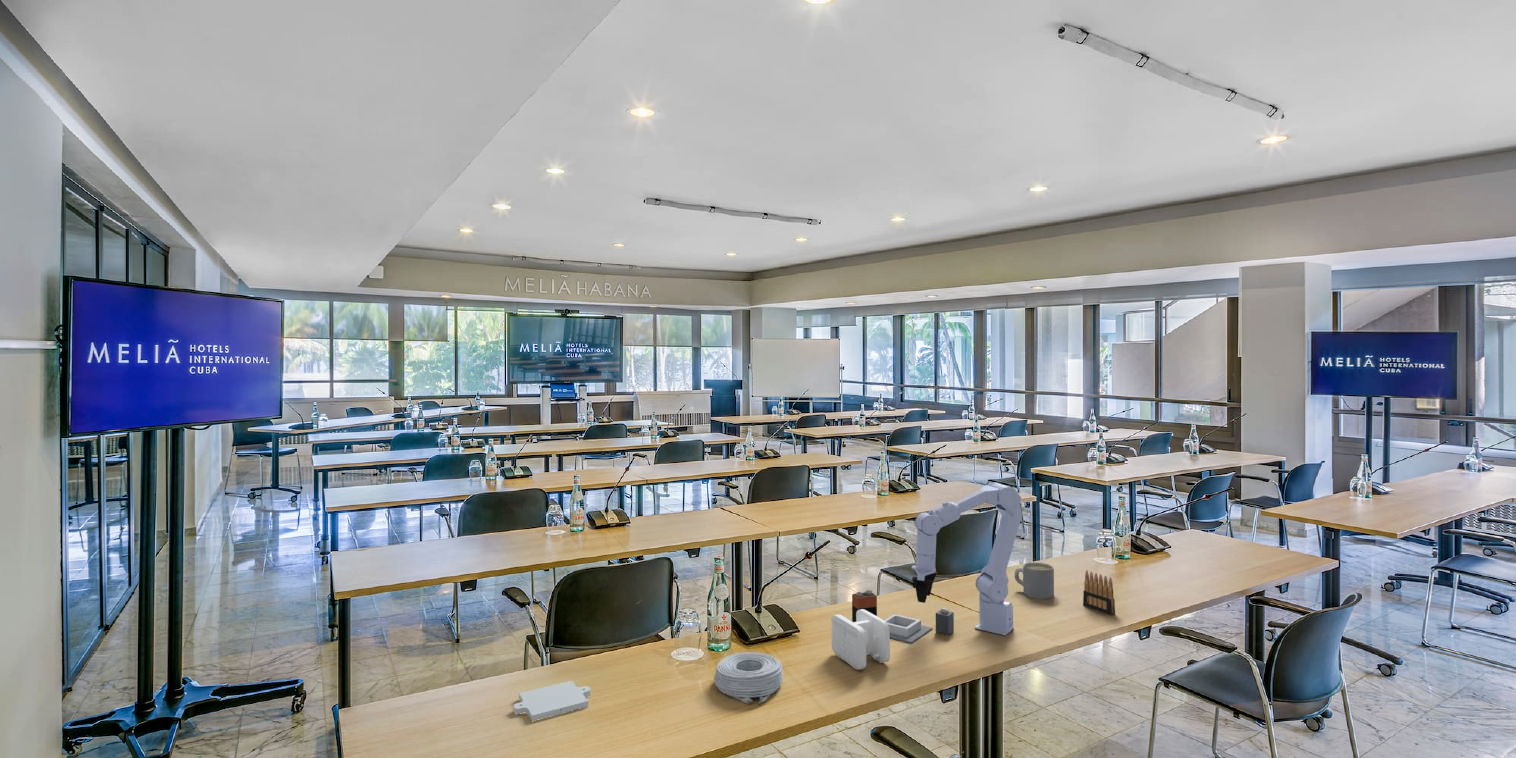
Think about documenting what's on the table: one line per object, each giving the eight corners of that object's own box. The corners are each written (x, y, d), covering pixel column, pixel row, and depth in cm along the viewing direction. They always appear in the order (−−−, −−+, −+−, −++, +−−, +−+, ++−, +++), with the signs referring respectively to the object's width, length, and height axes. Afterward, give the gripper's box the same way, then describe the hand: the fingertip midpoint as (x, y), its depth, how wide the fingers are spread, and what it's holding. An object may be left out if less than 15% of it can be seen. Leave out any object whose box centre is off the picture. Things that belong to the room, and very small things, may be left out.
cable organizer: (892, 667, 182) (892, 623, 182) (859, 675, 178) (858, 630, 178) (861, 647, 196) (860, 606, 196) (829, 654, 191) (829, 612, 191)
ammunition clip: (1082, 605, 229) (1082, 569, 229) (1086, 604, 230) (1086, 569, 230) (1111, 615, 219) (1111, 578, 219) (1115, 614, 220) (1115, 577, 220)
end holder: (932, 629, 209) (932, 619, 209) (911, 643, 198) (911, 633, 198) (891, 619, 217) (890, 610, 217) (869, 632, 206) (869, 622, 206)
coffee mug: (1059, 595, 239) (1059, 567, 239) (1042, 600, 234) (1042, 571, 234) (1026, 585, 250) (1026, 558, 250) (1009, 590, 245) (1009, 563, 245)
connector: (953, 632, 206) (953, 608, 206) (948, 636, 203) (948, 612, 203) (941, 629, 209) (941, 605, 209) (935, 633, 206) (935, 609, 206)
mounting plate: (520, 727, 154) (520, 718, 154) (508, 703, 165) (508, 695, 165) (598, 706, 163) (598, 698, 163) (581, 685, 174) (581, 677, 174)
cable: (759, 709, 160) (759, 683, 160) (699, 691, 170) (699, 667, 170) (795, 680, 175) (795, 657, 175) (738, 666, 184) (738, 643, 184)
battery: (877, 624, 213) (877, 592, 213) (858, 627, 211) (857, 595, 211) (870, 619, 217) (870, 588, 217) (851, 622, 215) (851, 590, 215)
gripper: (917, 546, 215) (915, 589, 215) (907, 556, 201) (905, 602, 201) (940, 549, 212) (938, 593, 212) (932, 560, 199) (930, 607, 198)
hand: (923, 598), depth 206 cm, fingers open, 7 cm apart
